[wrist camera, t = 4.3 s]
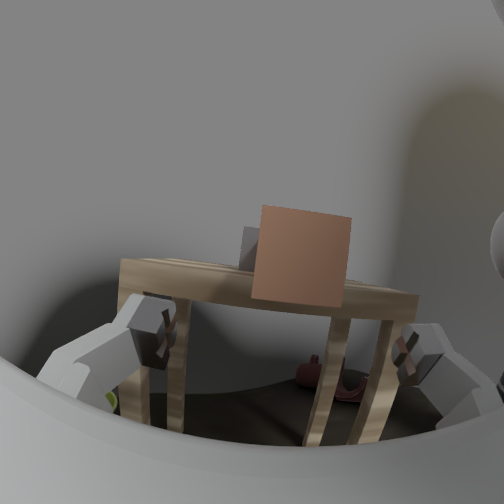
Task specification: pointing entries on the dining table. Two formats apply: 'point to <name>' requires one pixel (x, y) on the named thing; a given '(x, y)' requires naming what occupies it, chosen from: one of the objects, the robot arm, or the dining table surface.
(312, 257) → the mallet
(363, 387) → the bracket
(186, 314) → the frame
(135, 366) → the robot arm
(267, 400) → the dining table surface
